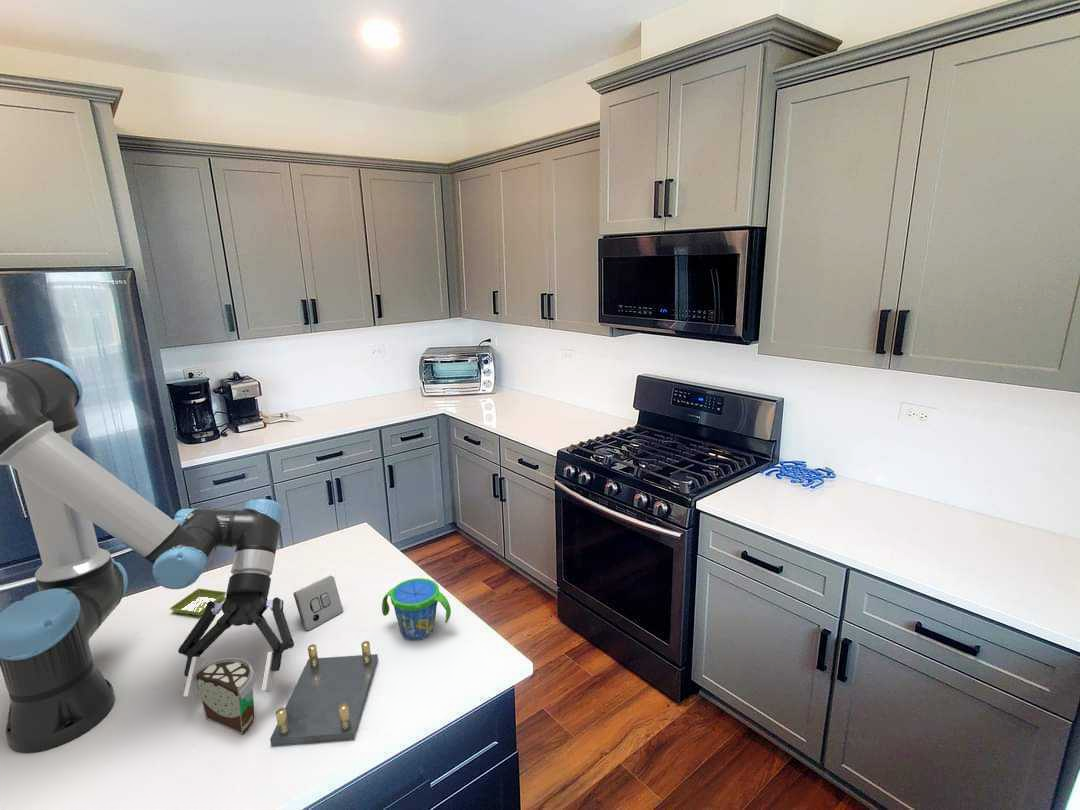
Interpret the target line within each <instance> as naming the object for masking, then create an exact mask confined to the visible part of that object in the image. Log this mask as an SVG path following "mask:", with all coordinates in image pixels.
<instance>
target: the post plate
mask: <svg viewBox="0 0 1080 810" xmlns="http://www.w3.org/2000/svg"><path fill="white" fill-rule="evenodd" d="M360 644H361V652H362V653H361V654H360V655H359V654H358V655H345V656H331V657H330V656H329V657H319V655H318V648H317V644H316V643H315V644H314V643H313V644H310V645H308V647H307V652H308V659H307V661H306V663H305V666H304V668H303V669H302V671H301V674H300V676H299V678H298V680H297V682H296V684H295V686H294V688H293V690H292V693H291V694H290V697H289V699H288V701H287V703H286V706H285V707H280V708H278V709H277V710H276V711H275V716H276V723H277V724H276V726H275V728H274V729H273V732H272V734H271V736H270V738H269V740H270V746H271V747H278V746H293V745H304V744H306V745H307V744H316V743H317V744H319V743H320V744H321V743H331V742H344V741H354V740H355V738H356V735H357V731H358V728H359V724H360V721H361V718H362V715H363V712H364V708H365V705H366V701H367V698H368V695H369V691H370V689H371V685H372V681H373V679H374V675H375V671H376V669H377V665H378V662H379V655H378V653H375V654H372V653H371V646H370V640H365V641H362V642H361V643H360Z"/></svg>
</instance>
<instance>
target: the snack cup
mask: <svg viewBox="0 0 1080 810" xmlns="http://www.w3.org/2000/svg"><path fill="white" fill-rule="evenodd" d="M388 597H390V602H391V604H392V606H393V608H394V613H395V616H396V620H397V624H398V627H399V631H400V633H401V635H402V637H403V638H405V639H409V640H421V641H422V640H423V639H424V638H425V637H428V636H429V635H430V634H431V633H433V632H434V631H435V630H434V629H435V627H436V617H437V607H438V602H439V603H440V604H441V606H442V607H443V608H444V610H445V621H444V623H445V624H447V623H448V621H449V620H450V618H451V613H452V609H451V606H450V605H451V604H450V603H449V601H448V598H447V597H446V596H445V595H444V593H442V592H441V591H440V588H439V585H438V583H437V582H435V581H433V580H431V579H429V578H425V577H424V578H423V577H420V578H419V577H418V578H411V579H407V580H404V581H402V582H400V583H397V585H396V586H394V587H393V588H391V589H390V590H388V591H387V592H386V593H385V595H384V597H383V598H382V602H381V611H382V615H383V616H384V617H386V616H387V615H388V614H389V612H390V606H389V602H388Z"/></svg>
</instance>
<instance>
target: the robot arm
mask: <svg viewBox="0 0 1080 810" xmlns="http://www.w3.org/2000/svg"><path fill="white" fill-rule="evenodd" d="M82 398H83V386H82V382H81V380H80V378H79V377H78V375H77V374H76V373H75V372H74V371H73V370H72V369H71V368H70V367H68V366H66V365H64V364H63V363H61V362H59V361H57V360H55V359H50V358H45V357H29V358H20V359H14V360H10V361H7V362H4V363H1V364H0V466H5V465H8V466H10V467H12V468H13V469H15V470H16V472H17V477H18V480H19V484H20V487H21V491H22V494H23V498H24V501H25V504H26V508H27V511H28V515H29V518H30V523H31V527H32V530H33V533H34V537H35V541H36V544H37V548H38V552H39V555H40V559H41V562H42V563H41V565H40V567H39V568H38V569H37V570H36V571H35V573H34V578H35V581H36V585H37V588H38V591H37V592H34V593H32V594H31V593H30V594H28V595H26V596H25V597H23V599H21V600H17V601H15V602H13V603H11V604H10V605H9V606H7V607H6V608H5V609H3V610H2V611H1V612H0V669H1V674H2V676H3V680H4V682H5V686H6V689H7V692H8V695H9V699H10V703H9V709H8V715H7V724H6V727H5V735H6V740H7V743H8V745H9V747H10V748H11V749H13V750H14V751H16V752H20V753H33V752H41V751H46V750H48V749H52V748H55V747H58V746H60V745H64V744H65V743H68V742H70V741H72V740H74V739H76V738H77V737H80V736H82V735H83V734H85V733H86V732H88V731H89V730H91V729H92V728H94V727H95V726H96V725H97V724H99V723H100V722H101V721H102V720H103V719H104V718H105V717H106V716H107V715H108V713H110V711H111V710H112V709H113V706H114V705H115V701H116V696H115V695H116V694H115V691H114V687H113V685H112V683H111V682H110V681H109V680H108V679H107V678H105V677H104V675H103V674H102V673H101V671H100V669H99V668H97V667H96V666H95V663H94V660H93V655H92V650H91V648H90V647H91V646H90V643H89V642H90V639H91V638H92V637H93V635H94V634H95V633H96V632H97V630H98V629H99V628H100V627H101V625H102V624H103V623H104V622H105V621H106V620H107V619H108V617H109V616H110V615H111V614H112V612H113V611H114V610H115V609H116V608H117V607H118V605H119V604H120V603H121V601H122V599H123V597H124V595H125V593H126V591H127V587H128V581H129V580H128V579H129V578H128V574H127V571H126V569H125V568H124V566H123V564H121V563H120V562H117V561H115V559H114V558H113V557H112V555H111V553H110V551H109V550H106V549H104V548H101V547H99V542H98V538H97V534H96V530H95V526H94V525H96V526H98V527H99V528H100V529H102V530H103V531H105V532H106V533H108V534H109V535H110V536H112V537H113V538H115V539H116V540H118V541H119V542H120V543H122V544H123V545H125V546H126V547H128V548H129V549H130V550H132V551H134V552H135V553H136V554H137V555H140V557H142V558H144V559H145V560H147V562H149V563H151V564H152V565H153V566H152V570H151V571H152V576H153V578H154V580H155V582H156V583H157V584H158V585H159V586H160V587H163V588H164V589H168V590H181V589H185V588H188V587H189V586H192V585H193V584H195V583H196V582H197V580H198V579H199V577H201V575H202V574H203V573H204V572H205V570H206V569H207V567H208V564H209V562H210V561H211V559H212V557H213V555H214V554H215V553H216V551H217V549H218V548H235V547H236V548H235V551H234V552H235V553H234V558H233V561H232V566H231V570H230V573H231V575H230V576H229V578H228V583H227V584H228V585H227V589H226V594H225V596H226V597H225V600H224V601H223V603H220V602H218V603H215V602H212V601H210V602H208V603H207V606H206V609H205V611H204V613H203V614H202V615H201V617H200V618H199V620H198V621H197V622H196V624H195V625H194V627H193V628H192V629H191V631H190V633H189V634H188V635H187V636H186V638H185V640H184V641H183V642H182V644H181V645H180V646H179V648H178V654H181V655H184V656H186V658H187V660H186V664H185V667H184V672H183V676H184V677H187V679H186V683H185V688H184V691H183V695H182V696H183V697H187V698H195V697H196V696H197V691H198V687H197V683H196V680H193V674H194V672H193V671H195V670H197V669H198V668H200V667H202V666H203V664H204V663H203V662H204V658H203V657H201V656H202V654H203V653H205V651H206V650H207V649H208V648H209V647H211V645H212V644H213V643H214V642H216V640H217V639H218V638H219V637H220V636H222V634H223V633H224V632H225V631H226V630H228V629H230V628H231V627H232V625H233V626H235V627H239V626H243V625H245V626H253V624H255V625H256V627H257V629H259V630H258V631H260V633H261V634H262V636H263V638H264V639H265V640H266V642H267V643H268V645H269V646H270V648H271V650H272V651H267V654H266V656H267V657H266V661H265V662H266V663H265V667H264V673H263V674H264V675H263V680H262V685H261V690H260V691H262V692H266V693H270V692H272V689H273V682H274V677H275V672H277V671H278V672H279V671H280V669H281V664H282V660H283V659H282V657H283V653H284V651H287V650H289V649H292V648H294V646H295V641H294V639H293V637H292V633H291V631H290V627H289V625H288V622H287V621H288V620H287V619H286V616H285V613H284V604H285V603H284V600H282V599H281V598H280V597H276V596H275V597H274V598H273V599H269V600H268V596H269V594H270V593H269V592H270V587H271V580H272V578H271V577H270V576H271V575H272V574H273V569H274V565H275V559H276V552H277V547H278V543H279V537H280V531H281V528H282V518H283V517H282V516H283V507H282V505H281V504H280V503H278V502H277V501H275V500H272V499H266V498H258V499H250V500H248V501H247V502H246V503H245V505H244V507H243V509H238V510H237V509H233V510H232V509H214V508H202V507H196V508H195V507H194V508H182V509H179V510H177V512H176V514H175V515H174V517H173V518H171V517H170V516H169V515H167V514H166V513H165V512H163V511H162V510H161V509H159V508H158V507H156V506H155V505H154V504H153V503H151V502H150V501H149V500H147V499H146V498H144V497H143V496H141V494H139V493H138V492H136V491H135V490H134V489H132V488H131V487H130V486H128V485H127V484H126V483H124V482H123V481H122V480H120V479H119V478H117V477H116V476H115V475H114V474H113V473H111V472H109V471H108V470H107V469H106V468H103V467H102V466H101V465H100V464H99V463H97V462H96V461H95V460H93V459H92V458H91V457H89V456H88V455H87V454H85V453H84V452H83V451H81V450H79V449H78V448H77V447H76V446H75V445H74V443H73V439H72V436H73V434H74V433H75V432H76V431H77V430H78V428H79V426H80V423H79V420H78V415H77V412H76V407H77V406H78V405H80V402H81V399H82ZM268 608H269V610H270V611H271V612H272V615H273V618H274V621H275V624H276V627H277V630H278V632H279V636H280V640H281V641H280V640H279V638H278V637H277V635H276V634H275V633H274V631H273V630H272V628H271V627H270V625H269V624H268V622H267V620H266V618H265V617H264V615H263V614H264V613H265V611H267V609H268ZM221 611H222V613H223V615H221V616H220V617H219V619H217V621H216V623H215V624H214V625H213V626H212V627H211V628H210V629H209V627H210V626H211V625H212V623H213V621H214V620H215V618H216V617H217V615H219V614H220V612H221ZM208 629H209V630H208ZM207 630H208V631H207ZM206 631H207V632H206Z"/></svg>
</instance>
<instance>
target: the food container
mask: <svg viewBox="0 0 1080 810" xmlns="http://www.w3.org/2000/svg"><path fill="white" fill-rule="evenodd" d="M193 672H194V674H193V680H196V683H197V691H198V694H199V699H200V701H201V704H202V708H203V712H204V715H205V719H206V720H207V721H210V722H212V723H214V724H217V725H219V726H221V727H224V728H227V729H228V730H230V731H233V732H235V733H237V734H240V735H244V734H245V733H246V732H248V730H249V729H250V728H251V726H252V724H253V723H254V719H255V702H254V690H253V688H254V686H255V684H256V681H257V679H256V672H255V671H254V669H253V667H252V665H251V664H250V663H249V662H248V661H247V660H244V659H243V658H239V657H238V658H237V657H227V658H222V659H217V660H214V661H211V662H209V663H206V664H204V665H202V667H200V668H198V669H197V670H195V671H193Z"/></svg>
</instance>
